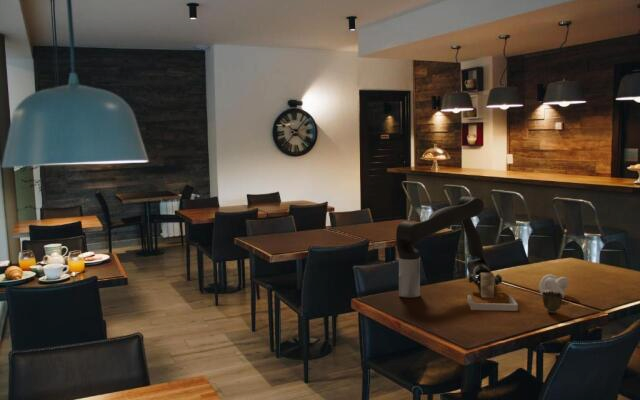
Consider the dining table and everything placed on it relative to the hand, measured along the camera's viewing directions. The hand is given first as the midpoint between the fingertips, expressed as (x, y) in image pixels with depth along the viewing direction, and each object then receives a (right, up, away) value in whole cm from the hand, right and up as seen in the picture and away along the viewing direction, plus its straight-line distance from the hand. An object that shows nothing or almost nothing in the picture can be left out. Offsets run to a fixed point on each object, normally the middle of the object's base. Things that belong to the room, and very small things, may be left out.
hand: (487, 282), depth 254 cm
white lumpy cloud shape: (+28, -6, -2) cm, 29 cm away
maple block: (0, -6, 0) cm, 6 cm away
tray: (-2, -8, -14) cm, 16 cm away
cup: (+18, -9, -25) cm, 33 cm away
